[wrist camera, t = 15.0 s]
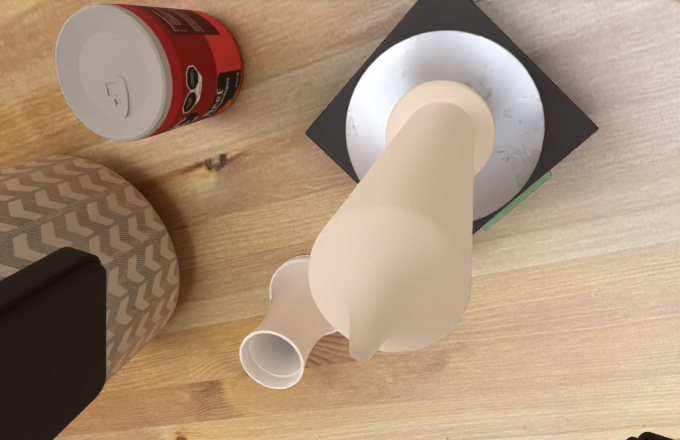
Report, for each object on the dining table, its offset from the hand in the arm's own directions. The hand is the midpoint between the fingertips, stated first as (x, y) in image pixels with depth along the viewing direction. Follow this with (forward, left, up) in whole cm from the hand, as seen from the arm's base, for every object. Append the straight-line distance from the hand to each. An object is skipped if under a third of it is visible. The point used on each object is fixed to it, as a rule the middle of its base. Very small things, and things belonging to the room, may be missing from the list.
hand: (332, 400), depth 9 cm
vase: (+17, -7, -31) cm, 36 cm away
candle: (0, 0, -27) cm, 27 cm away
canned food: (0, -19, -31) cm, 36 cm away
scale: (0, 0, -30) cm, 30 cm away
